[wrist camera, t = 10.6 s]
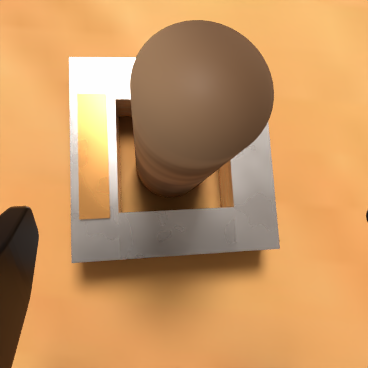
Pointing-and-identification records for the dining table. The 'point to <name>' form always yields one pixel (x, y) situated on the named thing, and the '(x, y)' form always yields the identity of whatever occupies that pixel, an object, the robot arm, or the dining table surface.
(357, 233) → the dining table surface
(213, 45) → the walnut peg
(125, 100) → the hole plate
